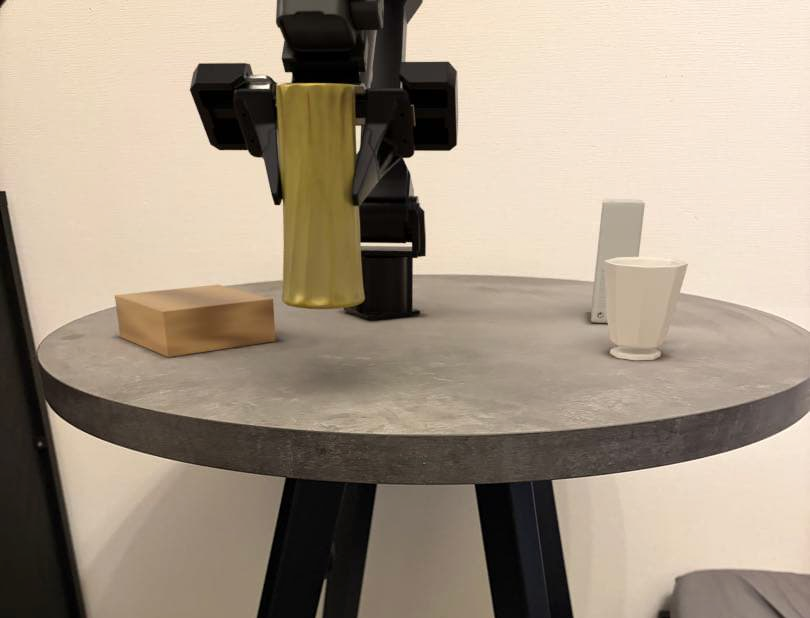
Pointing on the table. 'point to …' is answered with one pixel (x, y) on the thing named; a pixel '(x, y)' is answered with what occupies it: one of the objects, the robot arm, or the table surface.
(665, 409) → the table surface
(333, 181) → the vase
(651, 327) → the cup
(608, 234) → the cosmetic box
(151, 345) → the oak block
